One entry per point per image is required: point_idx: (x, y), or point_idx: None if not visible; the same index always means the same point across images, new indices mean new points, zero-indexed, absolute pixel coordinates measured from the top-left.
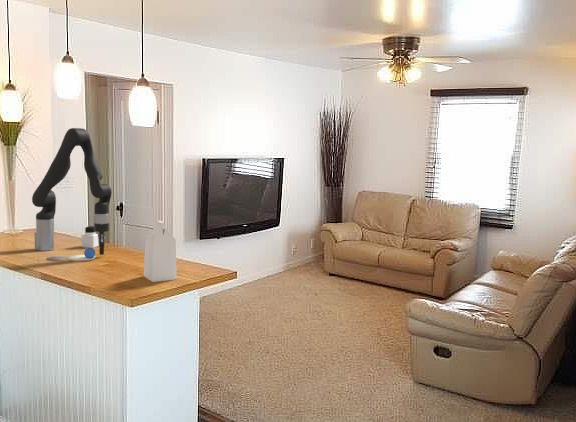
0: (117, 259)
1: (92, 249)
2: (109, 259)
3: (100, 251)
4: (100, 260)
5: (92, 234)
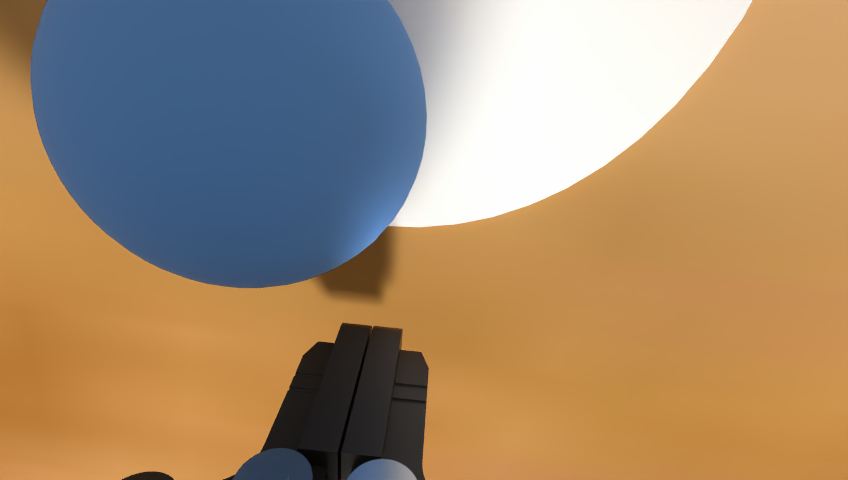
0: (179, 463)
1: (117, 239)
2: (180, 386)
3: (294, 384)
4: (89, 260)
5: None
